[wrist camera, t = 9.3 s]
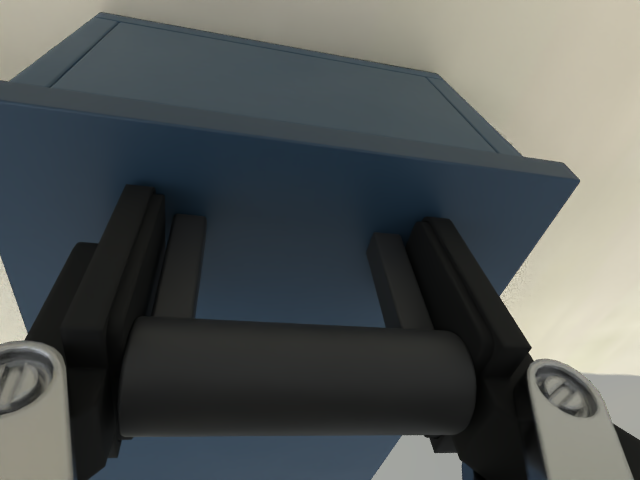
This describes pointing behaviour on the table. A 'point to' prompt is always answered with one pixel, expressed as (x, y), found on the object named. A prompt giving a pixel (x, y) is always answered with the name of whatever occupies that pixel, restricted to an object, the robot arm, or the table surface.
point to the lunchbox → (260, 82)
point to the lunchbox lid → (266, 276)
